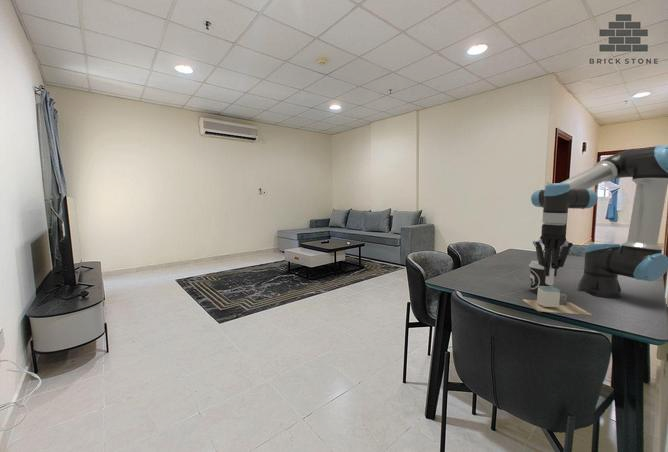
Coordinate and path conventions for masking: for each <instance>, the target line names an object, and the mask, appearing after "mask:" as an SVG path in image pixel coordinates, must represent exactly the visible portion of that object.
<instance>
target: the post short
mask: <svg viewBox="0 0 668 452" xmlns="http://www.w3.org/2000/svg"><path fill="white" fill-rule="evenodd" d="M567 302H568V295H567V294H565V293H562V292H560V300H559V305H567Z"/></svg>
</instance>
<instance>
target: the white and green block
mask: <svg viewBox="0 0 668 452" xmlns="http://www.w3.org/2000/svg"><path fill="white" fill-rule="evenodd" d="M560 293H561V290H560V289H558V288H556V287H554V286H553V285H550V286H538V294H536V297H537V298H536V300H537V302H538V303H540V304H541V305H542V306H544V307H559V300H560Z"/></svg>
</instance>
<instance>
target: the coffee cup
mask: <svg viewBox="0 0 668 452" xmlns="http://www.w3.org/2000/svg"><path fill="white" fill-rule="evenodd" d="M528 267H529V275H530V276H529V277H530V278H529V279H530V281H529V282H530V292H531V293H532V294H536V295H537V294H538V286H551V285H548V284H546V283H545V279H546V276H545V275H544V267H543V266H541V265H539V263H538V260H531V261H530V263H529V265H528ZM550 267H551V265H550Z"/></svg>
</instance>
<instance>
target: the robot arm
mask: <svg viewBox="0 0 668 452" xmlns="http://www.w3.org/2000/svg"><path fill="white" fill-rule="evenodd" d="M621 178H632V179H631V181H632V182H634V183H635V185H636V186H635V187H636V188H635V194H634V198H633V204H632V210H631V211H632V212H631V215H630V216H631V217H630V223H629V228H628V235H627V241H625V242H623V243H621V244H620V243H590V244H588V245H586V247H585V251H584V266H583V274H582V277H581V278H580V280H579V282H578V284H577V290H578V291H579V292H584V293H587V294H589V295H591V296H596V297H599V298H600V297H602V298H609V299H610V298H612V299H617V298H620V297H622V289H621V286H620V283H619V279H618V276H623V277H627V278H631V279H635V280H640V281H645V282H654V281H657V280H659V279H661V277H664V275H665V274H666V273H667V271H668V256H667V255H665V254H663V248H662V247H660V245H659V237H660V232H661V227H662V221H663V220H662V219H663V213H664V207H665V204H666V198H667V190H668V144H666V145H657V146H649V147H648V146H647V147H642V148H635V149H628V150H624V151H621V152H618V153H616V154H613V155H611V156H608V157H606V158H604V159H602V160H600V161H598V162H596V163H595V164H594V165H593V166H592V167H590V168H588V169H586V170H584V171H582V172H579V173H577V174H576V175H574V176H572V177H570V178H568V179H566V180H563V181H561V182H558V183H557V182H556V183H555V182H554V183H547V184H546V185H545V188H544V189H540V190H535V191H534V192H533V193H532V195H531V197H530V201H531V204H532V205H533V206H534V207H536V208H542V220H541V222H542V223H543V224H541V235H540V237H539V239H537V240H533V241H532V244H533V245H534V247H535V250H536V252H535V253H536V257H537V261H538V263H539V265H541V266H543V267H544V275H545V276H546V279H545V283H546V284H548V285H550V286H554V282H555V280H554V279H555V277H557V275H558V274H557V273H558V270H559V269H560V268H563V267H564V265H565V263H566V260H567V257H568V255H569V251H570V249H571V248H572V247H573V245H574V244H573V243H572V242H569V241H568V240H567V238H566V234H567V225H566V224H567V223H568V212H569V209H573V210H575V209H582V210H584V209H590V208H593V207H594V206H595V205H596V204H597V202H598V198H599V197H598V194H597V192H596V191H594V190H593V189H591V188H593V187H595V186H597V185H599V184H602V183H603V182H611V181H613V180H615V179H621ZM542 245H543V247H544V252H543V247H542ZM550 265H551V267H550Z"/></svg>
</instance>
